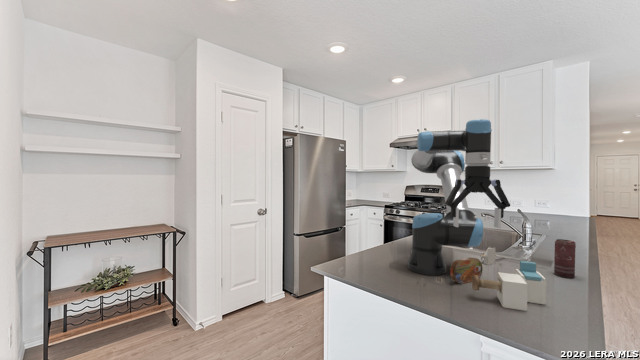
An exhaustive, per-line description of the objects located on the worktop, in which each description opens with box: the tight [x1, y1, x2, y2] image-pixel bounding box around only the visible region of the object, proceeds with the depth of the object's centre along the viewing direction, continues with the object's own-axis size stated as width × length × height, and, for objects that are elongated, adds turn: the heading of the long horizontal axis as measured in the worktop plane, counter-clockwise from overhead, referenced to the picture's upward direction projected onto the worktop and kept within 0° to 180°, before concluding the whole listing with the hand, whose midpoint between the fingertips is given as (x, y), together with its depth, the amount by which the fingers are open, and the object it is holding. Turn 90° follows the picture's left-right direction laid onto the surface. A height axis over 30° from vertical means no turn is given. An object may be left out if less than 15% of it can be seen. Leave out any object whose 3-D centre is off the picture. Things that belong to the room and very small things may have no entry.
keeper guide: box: [514, 268, 547, 305], centre depth 89 cm, size 6×7×8 cm
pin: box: [471, 275, 502, 291], centre depth 87 cm, size 13×5×5 cm, turn 68°
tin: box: [449, 257, 483, 285], centre depth 104 cm, size 15×3×8 cm, turn 114°
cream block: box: [496, 271, 528, 312], centre depth 86 cm, size 6×8×8 cm
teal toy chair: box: [518, 260, 542, 281], centre depth 89 cm, size 4×7×4 cm, turn 158°
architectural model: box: [480, 246, 497, 266], centre depth 125 cm, size 3×7×7 cm, turn 117°
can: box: [553, 238, 577, 279], centre depth 109 cm, size 6×6×14 cm
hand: (476, 227), depth 95 cm, fingers open, 13 cm apart
